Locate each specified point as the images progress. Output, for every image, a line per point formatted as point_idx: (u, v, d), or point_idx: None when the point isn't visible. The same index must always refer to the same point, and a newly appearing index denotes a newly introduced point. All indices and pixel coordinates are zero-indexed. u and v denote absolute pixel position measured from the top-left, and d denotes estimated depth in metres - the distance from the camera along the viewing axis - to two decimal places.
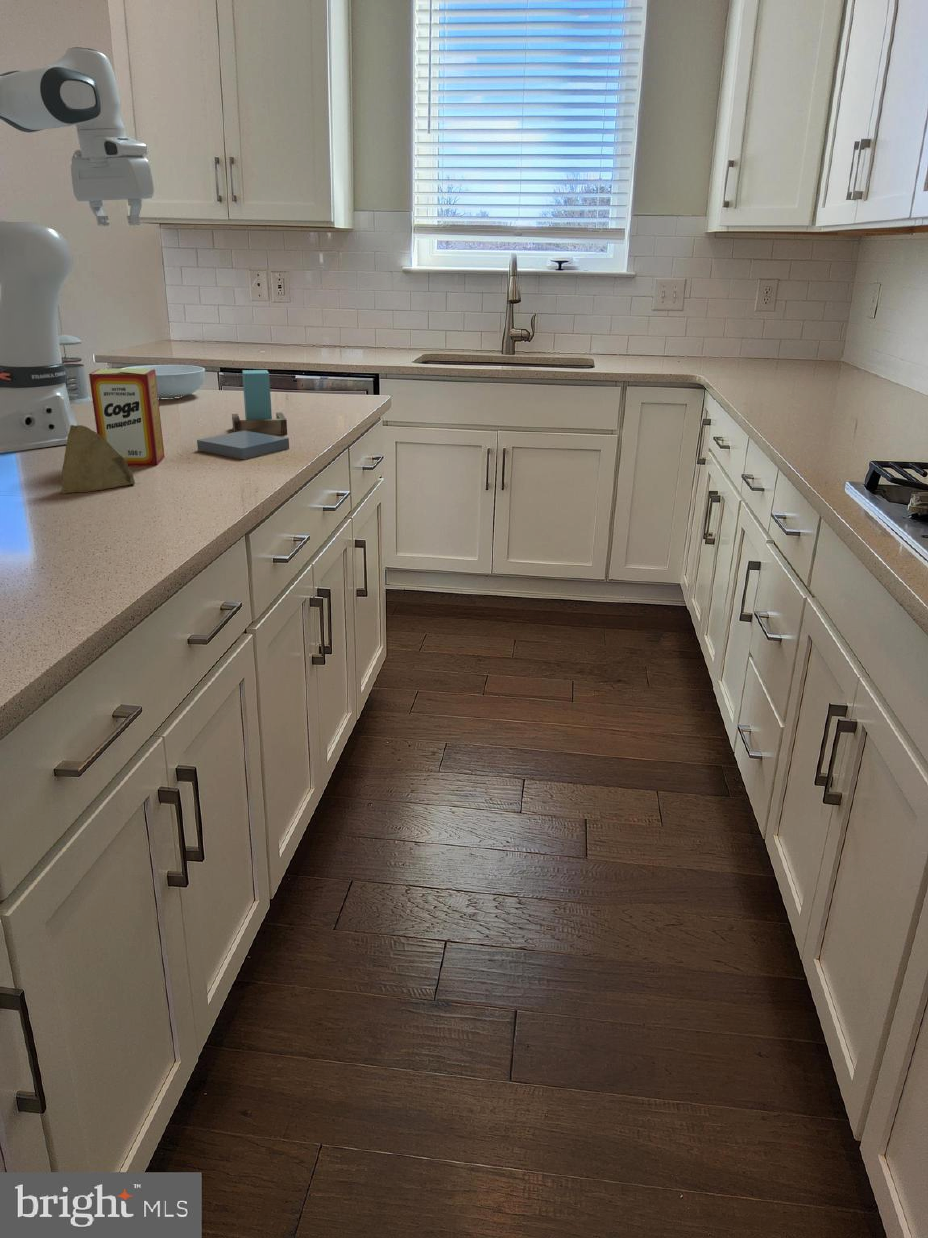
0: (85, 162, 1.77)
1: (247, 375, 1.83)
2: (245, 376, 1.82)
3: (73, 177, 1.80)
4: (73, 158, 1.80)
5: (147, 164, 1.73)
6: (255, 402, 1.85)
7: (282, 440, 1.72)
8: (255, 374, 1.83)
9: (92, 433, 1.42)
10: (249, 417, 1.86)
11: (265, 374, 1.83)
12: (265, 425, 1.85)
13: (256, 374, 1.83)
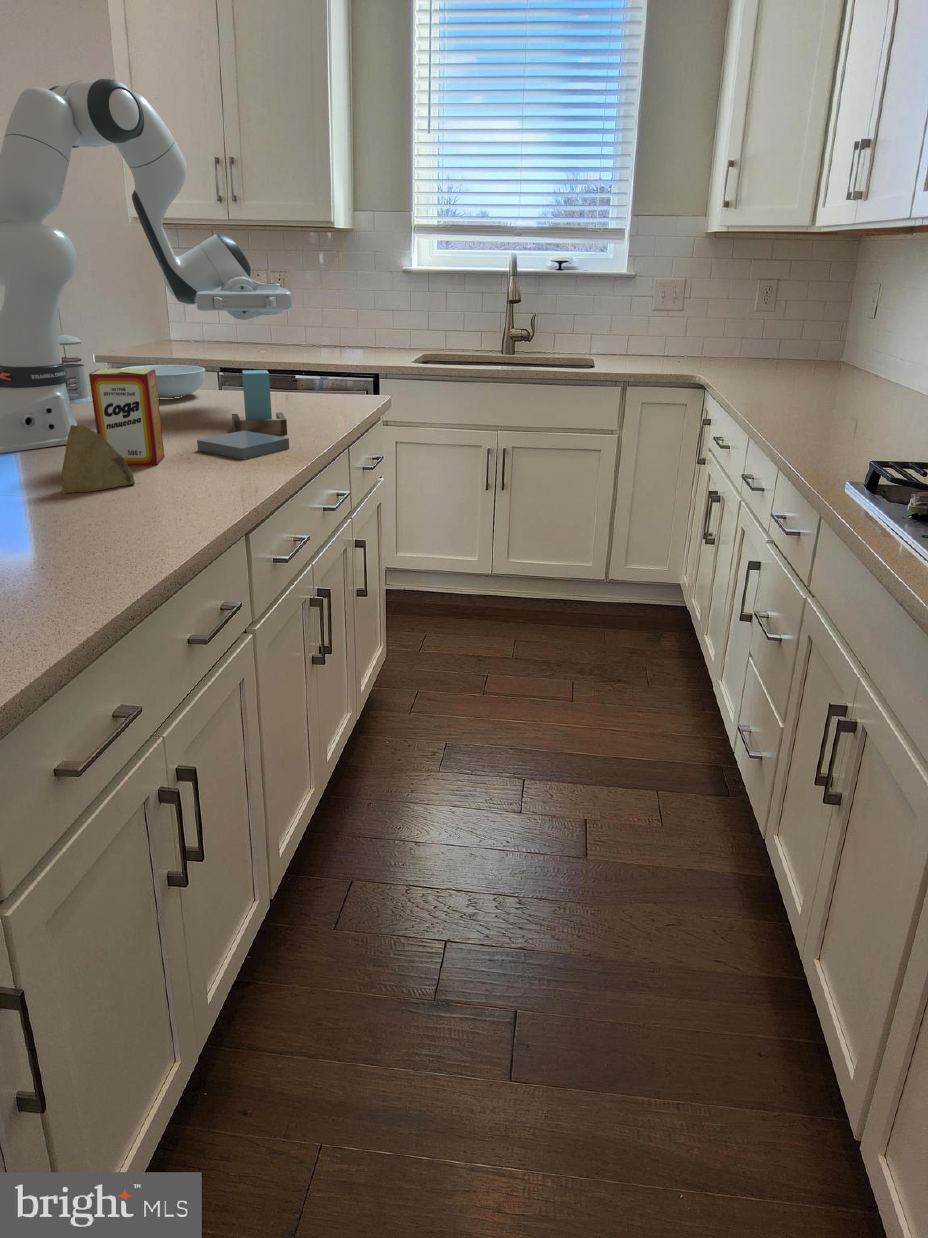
0: (222, 290, 1.99)
1: (247, 375, 1.83)
2: (245, 376, 1.82)
3: (201, 291, 1.96)
4: None
5: None
6: (255, 402, 1.85)
7: (282, 440, 1.72)
8: (255, 374, 1.83)
9: (92, 433, 1.42)
10: (249, 417, 1.86)
11: (265, 374, 1.83)
12: (265, 425, 1.85)
13: (256, 374, 1.83)
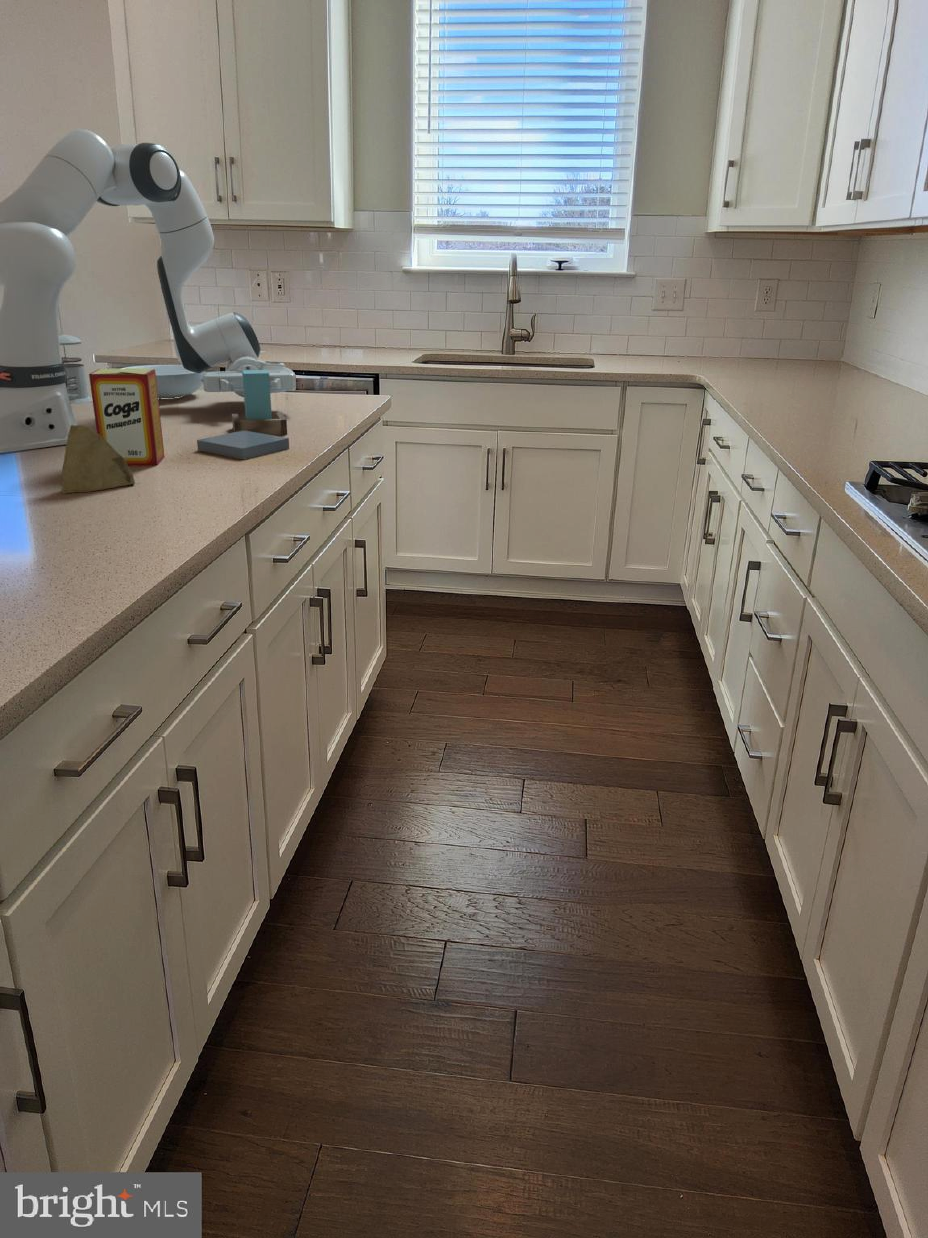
0: (228, 371, 2.05)
1: (247, 375, 1.83)
2: (245, 376, 1.82)
3: (208, 372, 2.01)
4: None
5: None
6: (255, 402, 1.85)
7: (282, 440, 1.72)
8: (255, 374, 1.83)
9: (92, 433, 1.42)
10: (249, 417, 1.86)
11: (265, 374, 1.83)
12: (265, 425, 1.85)
13: (256, 374, 1.83)
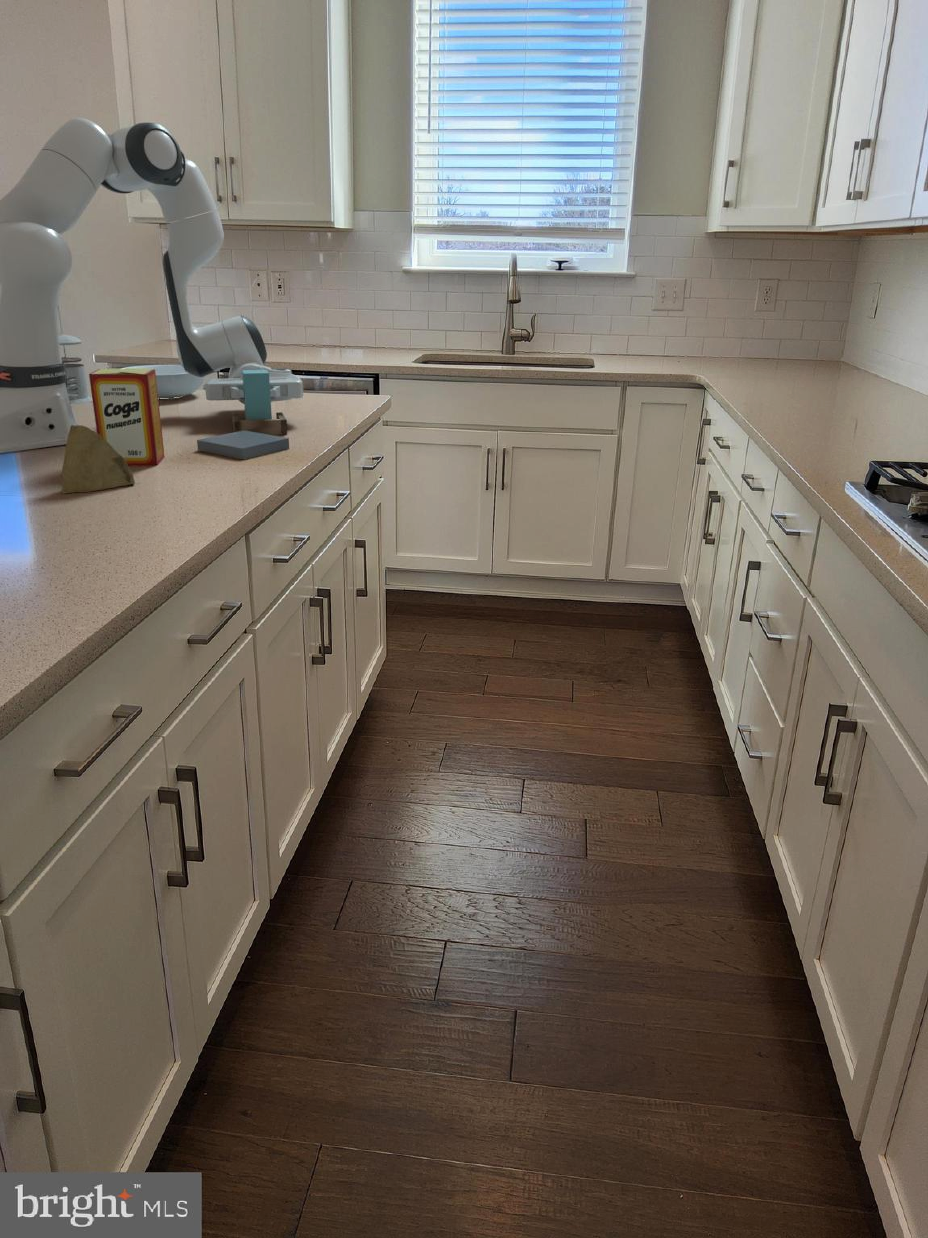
0: (231, 378, 1.94)
1: (247, 375, 1.83)
2: (245, 376, 1.82)
3: (210, 380, 1.91)
4: None
5: None
6: (255, 402, 1.85)
7: (282, 440, 1.72)
8: (255, 374, 1.83)
9: (92, 433, 1.42)
10: (249, 417, 1.86)
11: (265, 374, 1.83)
12: (265, 425, 1.85)
13: (256, 374, 1.83)
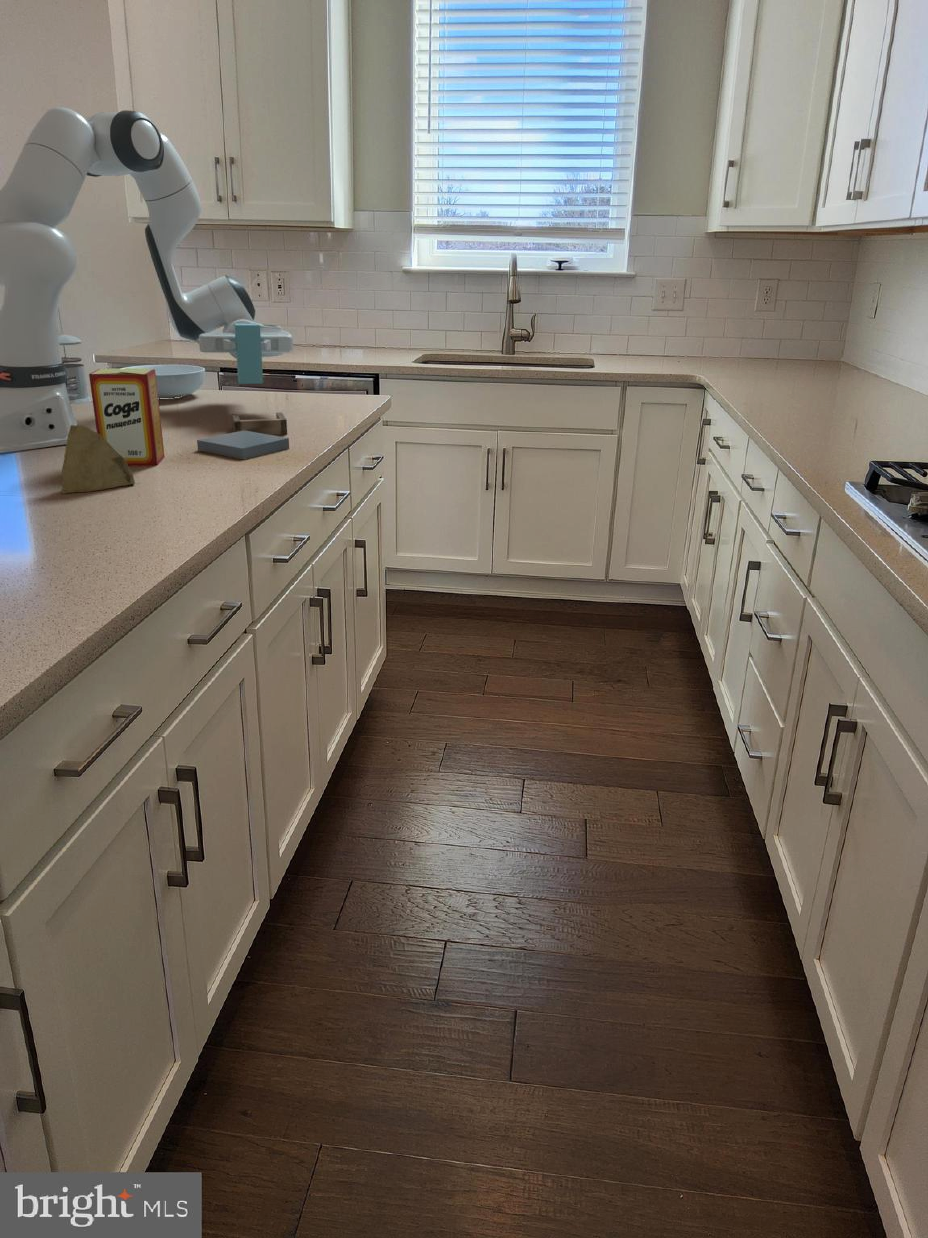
0: None
1: (239, 327, 1.91)
2: (237, 328, 1.91)
3: (204, 333, 1.99)
4: None
5: None
6: (247, 353, 1.93)
7: (282, 440, 1.72)
8: (247, 326, 1.91)
9: (92, 433, 1.42)
10: (240, 368, 1.94)
11: (256, 326, 1.92)
12: (265, 425, 1.85)
13: (247, 326, 1.91)
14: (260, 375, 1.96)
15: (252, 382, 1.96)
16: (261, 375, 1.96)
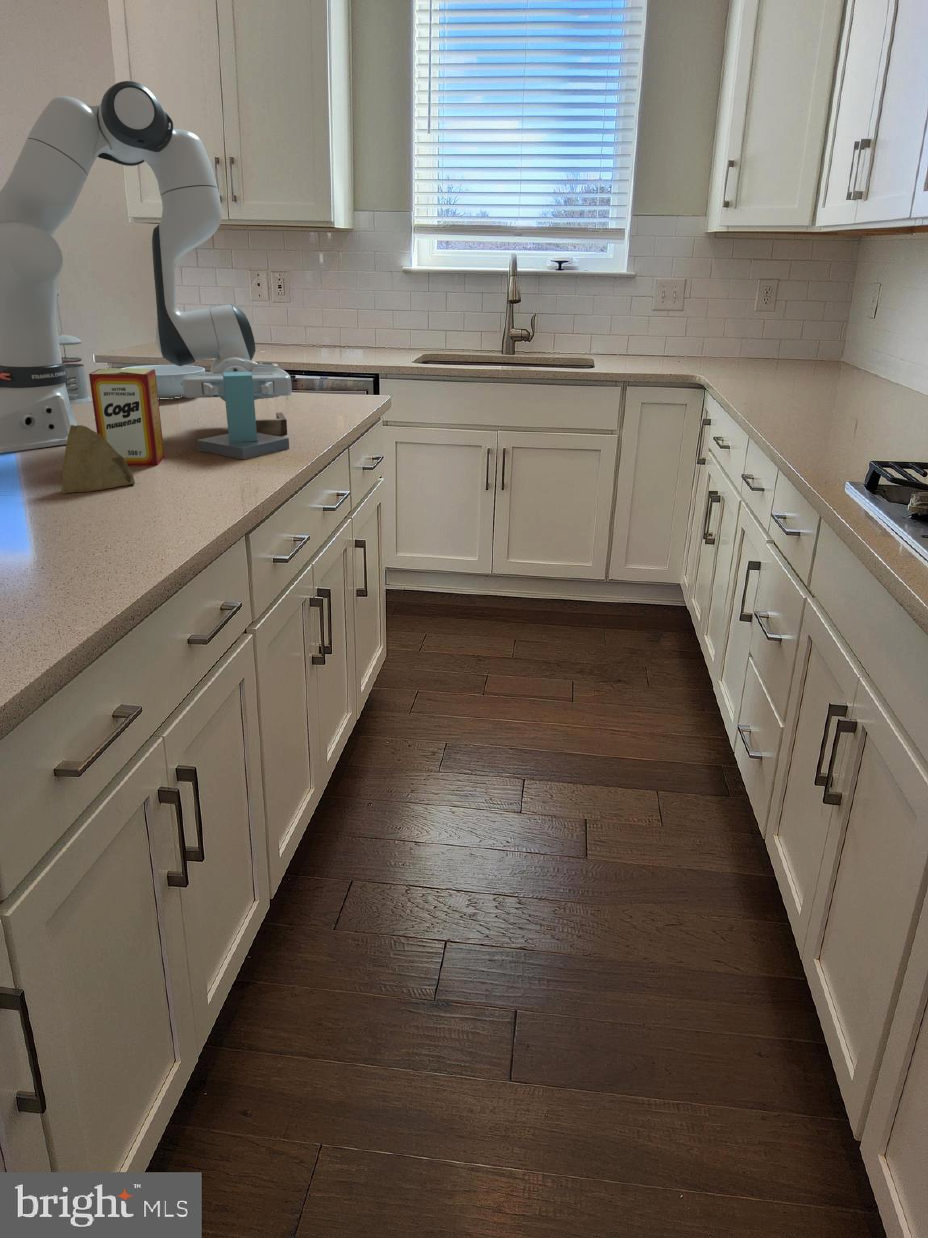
0: (212, 373, 1.76)
1: (228, 378, 1.65)
2: (225, 379, 1.65)
3: (188, 375, 1.72)
4: None
5: None
6: (237, 408, 1.67)
7: (282, 440, 1.72)
8: (237, 376, 1.65)
9: (92, 433, 1.42)
10: (231, 424, 1.68)
11: (248, 376, 1.65)
12: (265, 425, 1.85)
13: (238, 376, 1.65)
14: (254, 432, 1.69)
15: (245, 440, 1.70)
16: (255, 432, 1.69)
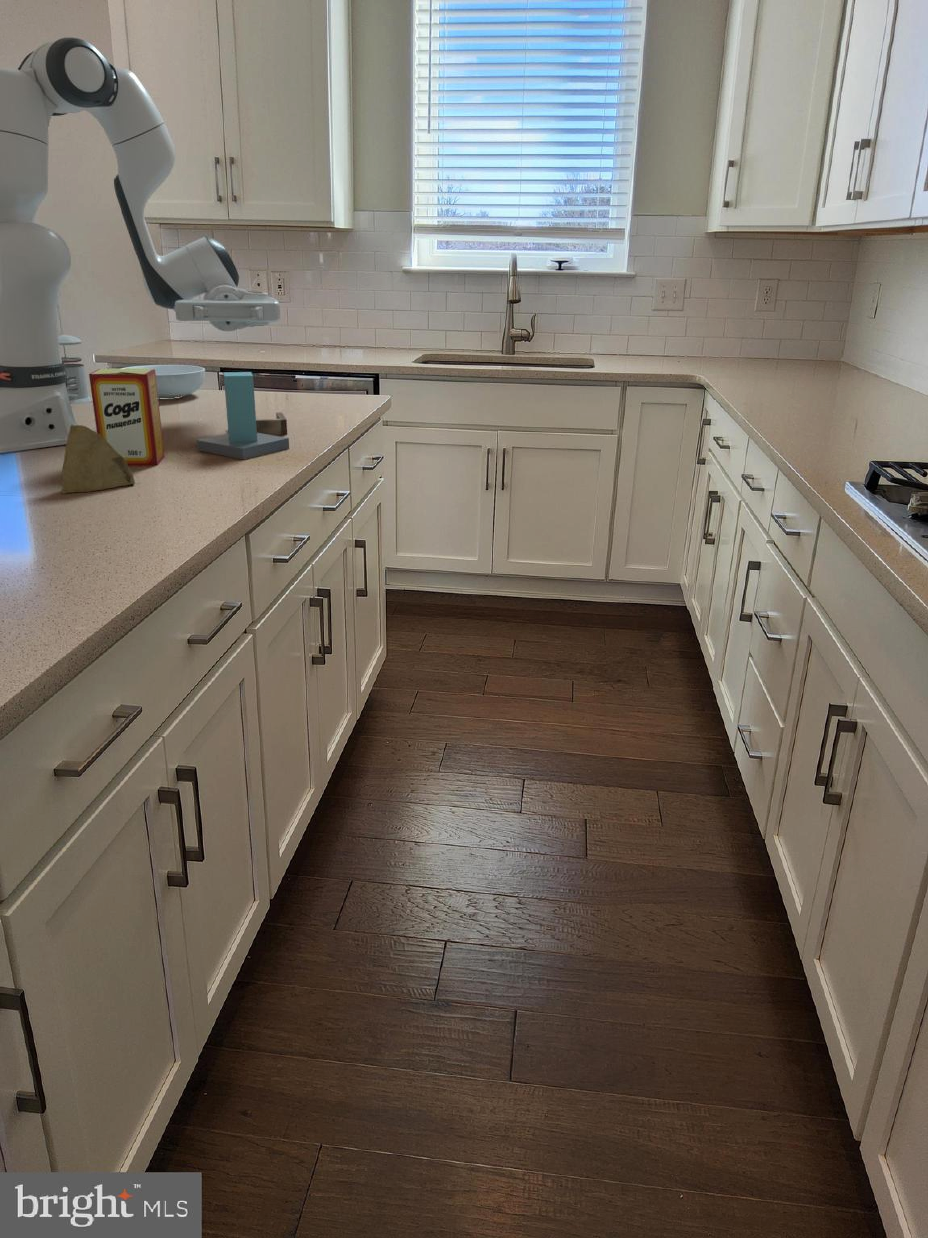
0: None
1: (228, 378, 1.65)
2: (226, 379, 1.65)
3: (181, 299, 1.79)
4: None
5: None
6: (238, 408, 1.67)
7: (282, 440, 1.72)
8: (238, 377, 1.65)
9: (92, 433, 1.42)
10: (231, 424, 1.68)
11: (248, 377, 1.65)
12: (265, 425, 1.85)
13: (238, 377, 1.65)
14: (254, 432, 1.70)
15: (245, 440, 1.70)
16: (255, 432, 1.69)
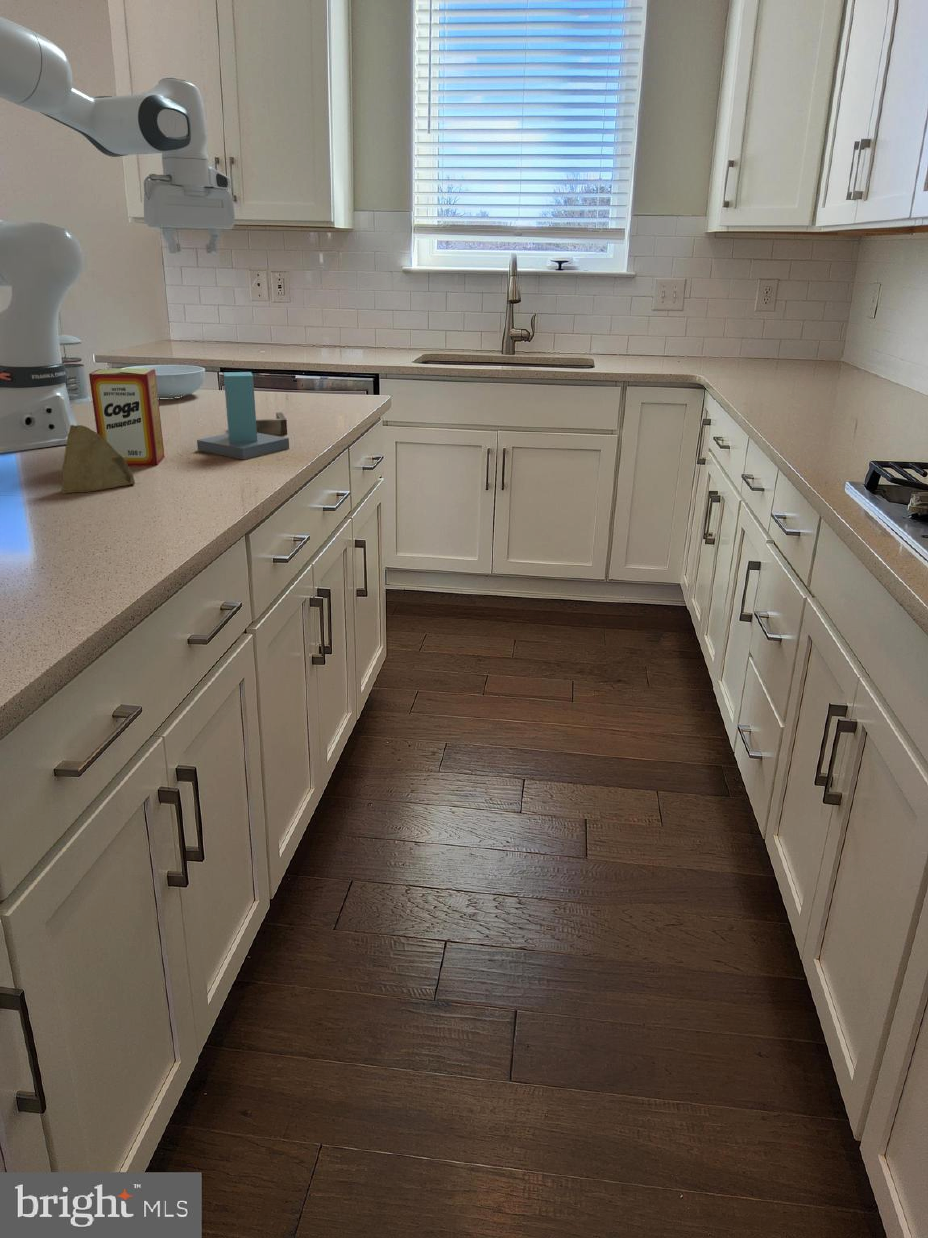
0: (177, 189, 1.73)
1: (228, 378, 1.65)
2: (226, 379, 1.65)
3: (159, 202, 1.70)
4: (149, 181, 1.69)
5: None
6: (238, 408, 1.67)
7: (282, 440, 1.72)
8: (238, 377, 1.65)
9: (92, 433, 1.42)
10: (231, 424, 1.68)
11: (248, 377, 1.65)
12: (265, 425, 1.85)
13: (238, 377, 1.65)
14: (254, 432, 1.70)
15: (245, 440, 1.70)
16: (255, 432, 1.69)
